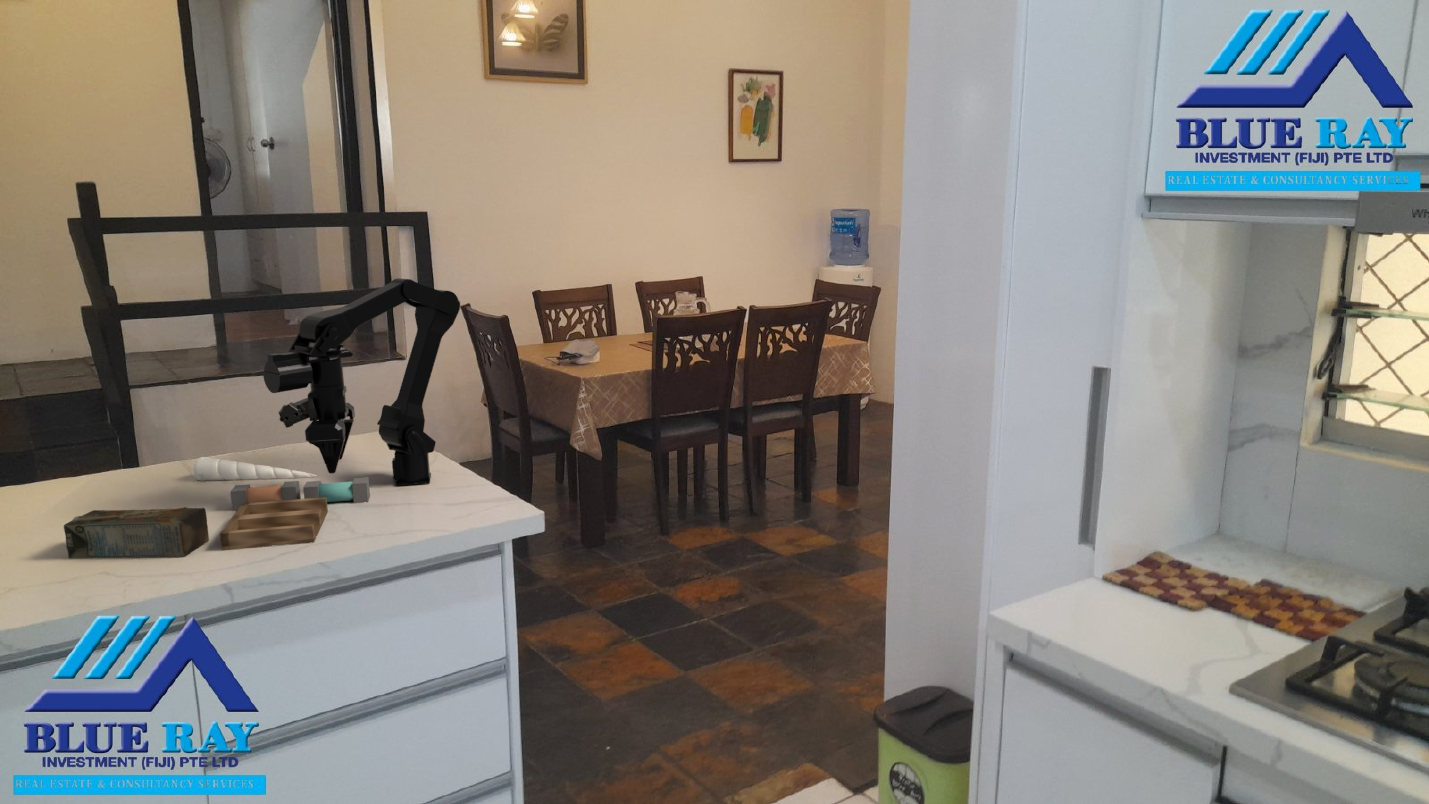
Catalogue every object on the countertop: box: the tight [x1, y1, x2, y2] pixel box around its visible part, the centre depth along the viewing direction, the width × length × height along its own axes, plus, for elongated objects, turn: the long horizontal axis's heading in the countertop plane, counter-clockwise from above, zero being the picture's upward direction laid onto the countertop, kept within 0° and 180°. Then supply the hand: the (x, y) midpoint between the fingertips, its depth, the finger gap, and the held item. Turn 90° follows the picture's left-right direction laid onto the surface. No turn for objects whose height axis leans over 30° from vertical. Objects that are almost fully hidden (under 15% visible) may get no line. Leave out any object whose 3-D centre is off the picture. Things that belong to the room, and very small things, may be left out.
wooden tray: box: [219, 497, 329, 551], centre depth 164 cm, size 14×16×3 cm
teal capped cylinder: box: [302, 476, 371, 504], centre depth 179 cm, size 11×4×4 cm, turn 104°
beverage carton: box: [63, 506, 210, 559], centre depth 156 cm, size 8×19×7 cm, turn 91°
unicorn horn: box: [193, 456, 317, 482], centre depth 194 cm, size 5×24×5 cm, turn 88°
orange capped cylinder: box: [230, 480, 302, 512], centre depth 177 cm, size 11×4×4 cm, turn 104°
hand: (335, 466), depth 178 cm, fingers open, 9 cm apart
